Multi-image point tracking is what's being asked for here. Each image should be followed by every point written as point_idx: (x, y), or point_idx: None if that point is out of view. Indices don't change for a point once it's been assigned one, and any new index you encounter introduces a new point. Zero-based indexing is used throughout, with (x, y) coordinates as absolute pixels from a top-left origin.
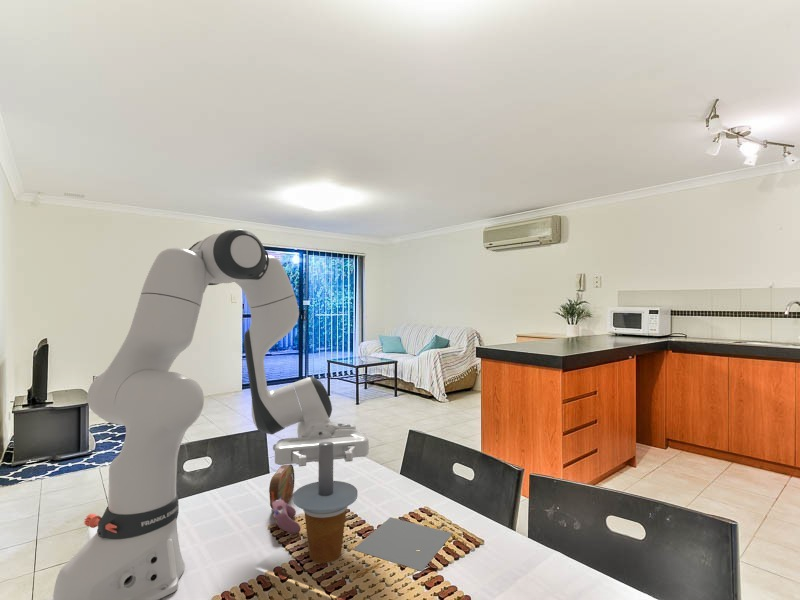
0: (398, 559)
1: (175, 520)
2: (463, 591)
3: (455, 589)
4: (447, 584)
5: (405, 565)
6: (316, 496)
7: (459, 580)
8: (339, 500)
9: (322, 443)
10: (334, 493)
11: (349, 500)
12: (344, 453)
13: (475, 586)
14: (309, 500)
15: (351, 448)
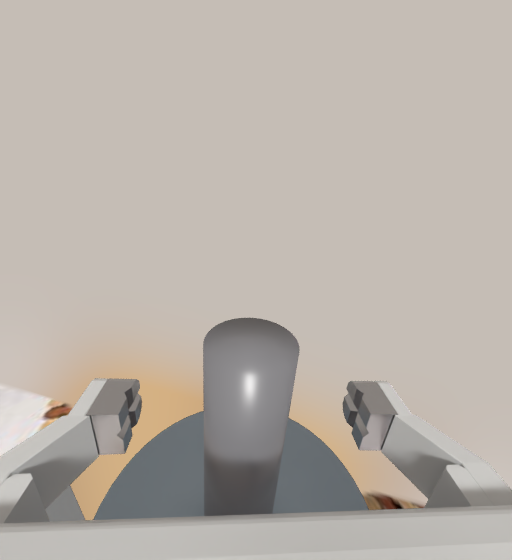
0: (61, 518)
1: None
2: (48, 402)
3: (53, 409)
4: (51, 422)
5: (68, 487)
6: (276, 494)
7: (23, 426)
8: (201, 435)
9: (275, 355)
10: (202, 504)
11: (171, 428)
12: (121, 421)
13: (20, 407)
14: (299, 462)
15: (33, 445)
